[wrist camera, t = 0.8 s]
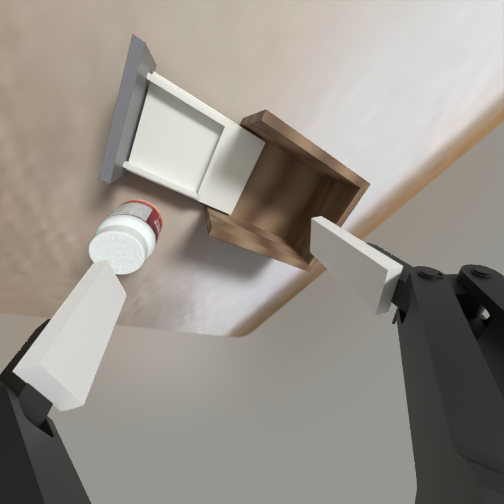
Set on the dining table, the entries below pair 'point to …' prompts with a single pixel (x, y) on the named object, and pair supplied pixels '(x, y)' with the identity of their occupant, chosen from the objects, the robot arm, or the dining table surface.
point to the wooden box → (286, 195)
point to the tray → (176, 138)
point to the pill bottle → (127, 236)
